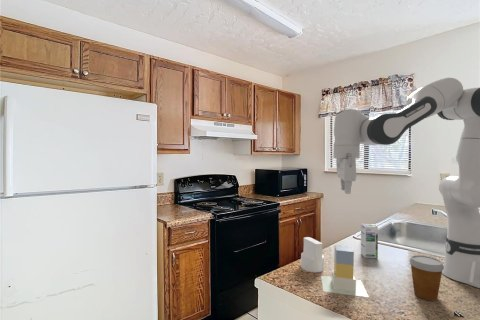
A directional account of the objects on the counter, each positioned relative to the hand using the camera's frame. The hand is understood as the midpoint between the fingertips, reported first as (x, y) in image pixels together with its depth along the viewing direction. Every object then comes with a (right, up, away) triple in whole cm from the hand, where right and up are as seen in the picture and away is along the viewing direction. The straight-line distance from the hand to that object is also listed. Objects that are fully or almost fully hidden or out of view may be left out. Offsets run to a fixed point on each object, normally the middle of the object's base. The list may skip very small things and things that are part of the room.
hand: (345, 191), depth 97 cm
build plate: (-3, -33, -4) cm, 33 cm away
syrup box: (+22, -33, +27) cm, 48 cm away
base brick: (-3, -32, -4) cm, 32 cm away
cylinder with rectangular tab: (-9, -33, +11) cm, 36 cm away
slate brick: (-2, -24, -4) cm, 24 cm away
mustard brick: (-2, -28, -4) cm, 29 cm away
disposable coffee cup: (+23, -34, -8) cm, 42 cm away
